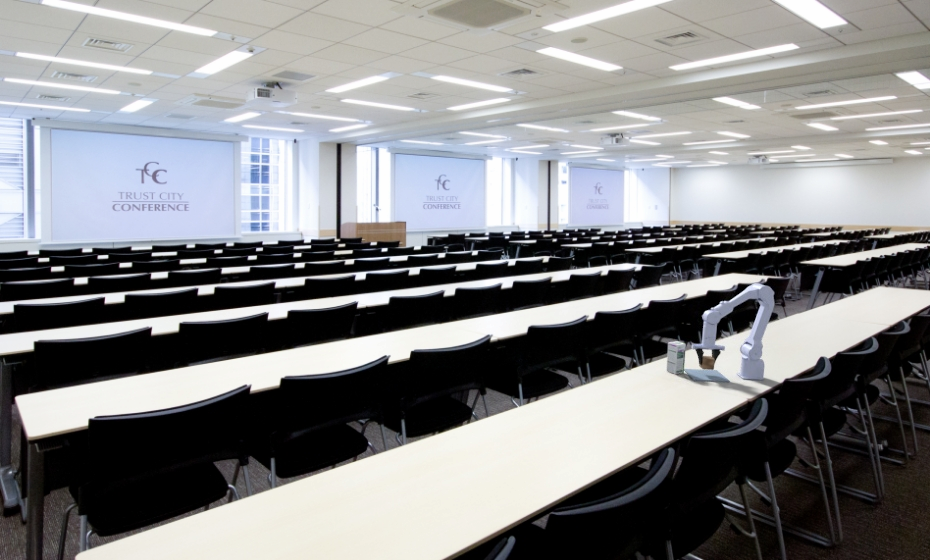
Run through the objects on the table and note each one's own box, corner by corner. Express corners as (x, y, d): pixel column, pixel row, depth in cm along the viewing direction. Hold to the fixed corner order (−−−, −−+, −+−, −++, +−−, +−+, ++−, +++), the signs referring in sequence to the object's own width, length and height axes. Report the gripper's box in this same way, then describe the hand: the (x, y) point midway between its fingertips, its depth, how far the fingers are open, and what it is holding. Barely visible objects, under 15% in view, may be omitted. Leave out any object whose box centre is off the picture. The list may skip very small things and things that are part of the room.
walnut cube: (709, 366, 275) (710, 356, 275) (713, 369, 271) (714, 359, 270) (699, 366, 276) (700, 355, 275) (702, 369, 271) (703, 358, 270)
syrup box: (675, 374, 275) (677, 344, 273) (665, 371, 280) (668, 341, 278) (684, 373, 277) (686, 343, 275) (674, 369, 283) (676, 340, 280)
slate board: (716, 371, 281) (716, 370, 281) (729, 382, 266) (729, 380, 266) (682, 370, 282) (683, 368, 282) (693, 380, 267) (693, 379, 266)
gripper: (696, 337, 268) (693, 366, 270) (728, 339, 267) (725, 367, 269) (691, 334, 274) (688, 361, 277) (722, 335, 274) (719, 363, 276)
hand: (706, 364), depth 273 cm, fingers closed on walnut cube, 5 cm apart
